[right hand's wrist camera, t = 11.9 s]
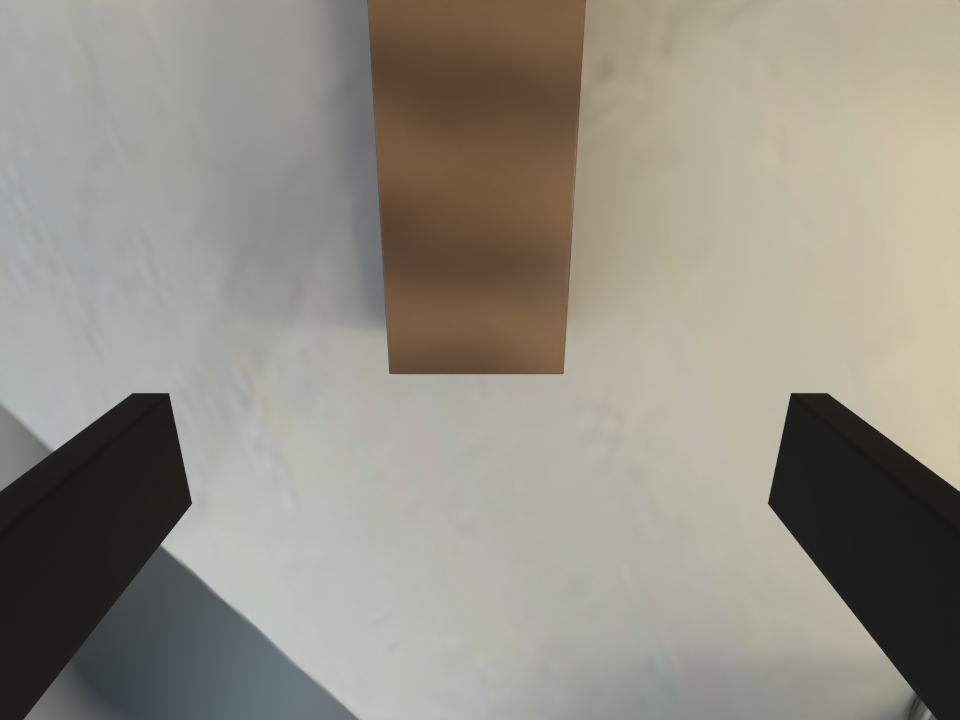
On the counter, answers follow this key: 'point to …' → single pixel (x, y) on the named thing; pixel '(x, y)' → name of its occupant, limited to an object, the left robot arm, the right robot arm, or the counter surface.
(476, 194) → the wooden beam
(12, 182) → the counter surface
